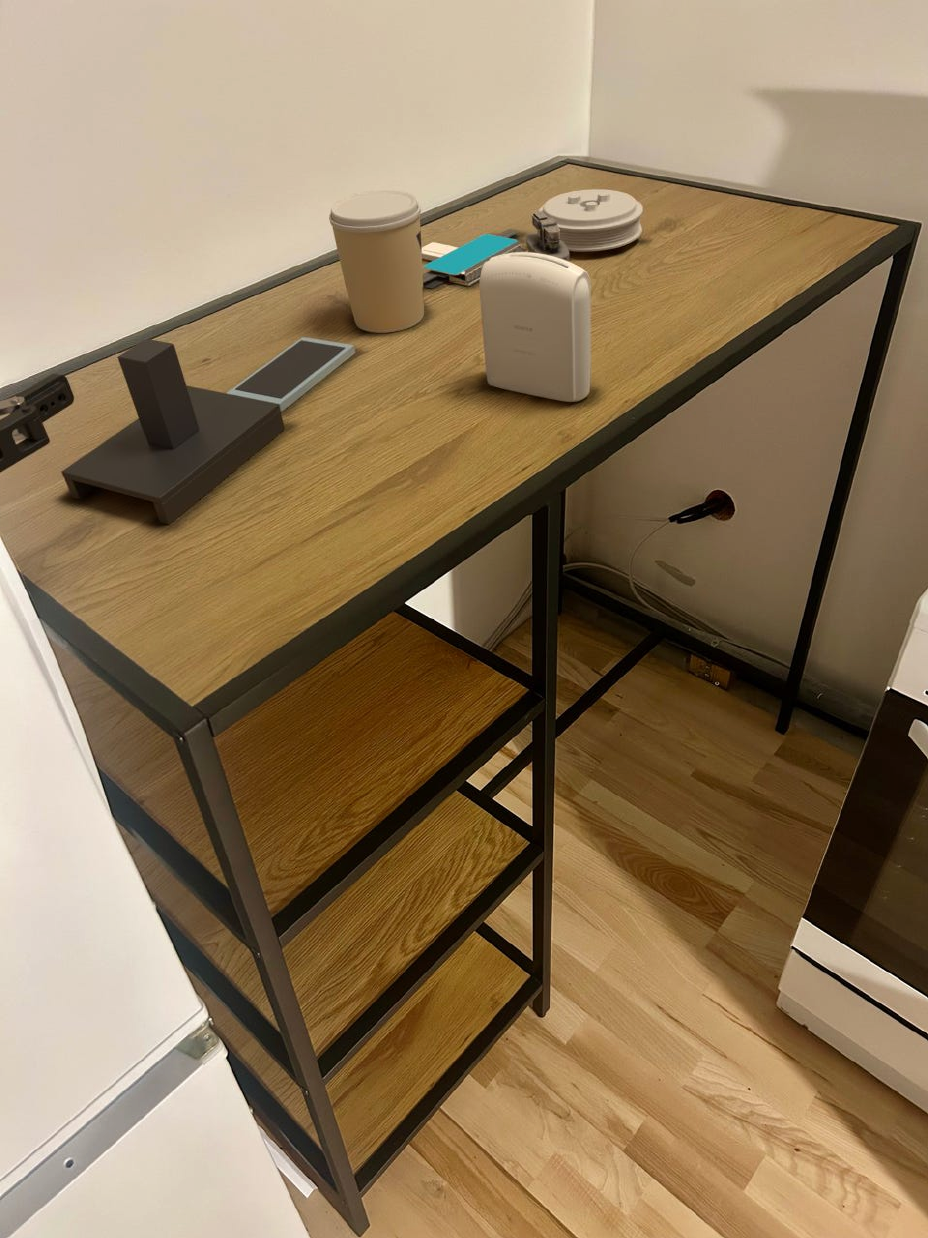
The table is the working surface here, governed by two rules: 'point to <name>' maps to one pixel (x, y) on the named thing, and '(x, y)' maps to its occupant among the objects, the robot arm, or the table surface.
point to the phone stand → (465, 258)
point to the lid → (595, 219)
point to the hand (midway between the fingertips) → (24, 377)
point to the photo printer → (537, 325)
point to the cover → (173, 436)
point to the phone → (294, 371)
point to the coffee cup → (381, 258)
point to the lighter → (546, 237)
